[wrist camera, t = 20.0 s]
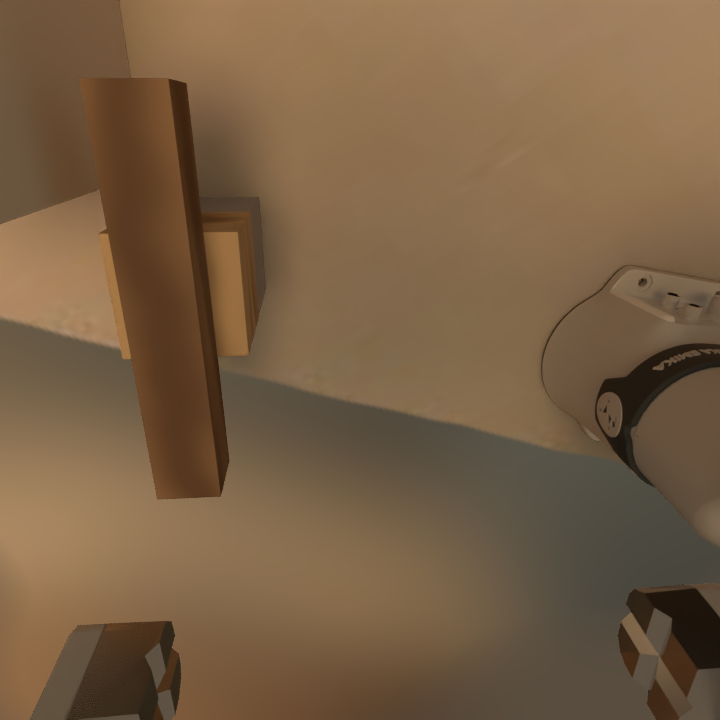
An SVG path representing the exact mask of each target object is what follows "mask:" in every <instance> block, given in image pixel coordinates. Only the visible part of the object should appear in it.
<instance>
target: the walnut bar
mask: <svg viewBox="0 0 720 720" xmlns="http://www.w3.org/2000/svg"><path fill="white" fill-rule="evenodd" d="M79 81H80V86H81V92H82V97H83V103H84V108H85V113H86V119H87V124H88V129H89V135H90V140H91V146H92V151H93V156H94V162H95V167H96V172H97V178H98V183H99V189H100V194H101V199H102V205H103V210H104V215H105V221H106V226H107V232H108V237H109V242H110V248H111V253H112V258H113V264H114V269H115V275H116V280H117V285H118V291H119V296H120V301H121V307H122V312H123V318H124V323H125V328H126V334H127V339H128V344H129V350H130V355H131V360H132V366H133V371H134V376H135V382H136V387H137V393H138V398H139V403H140V408H141V414H142V420H143V425H144V430H145V436H146V441H147V447H148V451H149V457H150V463H151V467H152V473H153V479H154V484H155V489H156V495H157V499H178V498H198V497H220V496H221V493H222V489H223V485H224V481H225V477H226V472H227V468H228V464H229V453H228V445H227V436H226V427H225V418H224V409H223V401H222V392H221V383H220V374H219V365H218V357H217V348H216V339H215V330H214V322H213V313H212V304H211V295H210V286H209V278H208V269H207V260H206V251H205V242H204V234H203V225H202V216H201V207H200V198H199V190H198V181H197V172H196V163H195V155H194V146H193V137H192V128H191V119H190V111H189V102H188V93H187V84H186V83H184V82H180V81H176V80H172V79H165V78H79Z"/></svg>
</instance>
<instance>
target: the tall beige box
mask: <svg viewBox="0 0 720 720" xmlns="http://www.w3.org/2000/svg"><path fill="white" fill-rule="evenodd" d="M79 78H131V77H130V71H129V64H128V58H127V51H126V45H125V39H124V32H123V26H122V19H121V13H120V6H119V0H0V224H2V223H5V222H8V221H11V220H13V219H16V218H19V217H22V216H25V215H28V214H31V213H33V212H36V211H39V210H42V209H45V208H48V207H51V206H53V205H56V204H59V203H62V202H65V201H68V200H71V199H73V198H76V197H79V196H82V195H85V194H88V193H91V192H93V191H96V190H99V183H98V178H97V172H96V167H95V162H94V156H93V151H92V146H91V140H90V135H89V129H88V124H87V119H86V113H85V108H84V103H83V97H82V92H81V86H80V81H79Z"/></svg>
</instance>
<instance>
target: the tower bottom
mask: <svg viewBox="0 0 720 720" xmlns="http://www.w3.org/2000/svg"><path fill="white" fill-rule="evenodd" d="M200 207H201V212H251V224H252V236H253V249H254V262H255V275H256V288H257V301H258V314H259V312H260V308H261V304H262V301H263V297H264V293H265V289H266V287H265V273H264V259H263V246H262V232H261V218H260V204H259V197H255V198H200Z"/></svg>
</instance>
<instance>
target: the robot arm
mask: <svg viewBox="0 0 720 720" xmlns="http://www.w3.org/2000/svg"><path fill="white" fill-rule="evenodd" d="M642 278H643V281H642V283H641V284H639V285H638V282H639V280H640V279H642ZM542 375H543V381H544V385H545V388H546V391H547V393H548V395H549V396H550V398H551V399H552V401H553V402H554V403H555V404H556V405H557V406H558V407H559V408H561V409H562V410H563V411H565V412H567V413H568V414H570V415H571V416H572V417H574V418H575V419H577V420H578V422H579V424H580V426H581V428H582V429H583V431H584V432H585V433H586V434H587V435H588V436H589V437H590V438H591V439H593V440H595V441H602V442H603V443H604V444H605V445H606V446H608V447H609V448H610V449H611V450H612V451H613V452H615V453H616V454H617V455H618V456H619V457H620V458H621V459H622V461H623V462H624V463H625V464H626V465H627V466H628V468H629V470H630V471H631V472H633V473H634V474H635V475H637V476H638V477H639V478H640V479H641V480H643V481H644V482H646V483H647V484H649V485H651V486H653V487H655V488H656V489H657V490H658V491H659V492H660V493H661V494H662V495H663V496H664V498H665V499H666V500H667V501H668V502H669V503H670V504H671V505H672V506H673V507H674V508H675V509H676V511H677V512H678V513H679V514H680V515H681V516H682V517H683V518H684V519H685V520H686V521H687V522H688V524H689V525H690V526H691V527H692V528H693V529H694V530H695V531H696V532H697V533H698V534H699V535H700V536H701V537H702V538H703V539H705V540H706V541H708V542H709V543H711V544H713V545H715V546H717V547H719V548H720V282H719V281H714V280H708V279H703V278H698V277H692V276H687V275H682V274H676V273H671V272H666V271H660V270H655V269H649V268H644V267H639V266H633V265H629V266H625V267H623V268H622V269H620V270H619V271H618V272H617V273H616V274H615V275H614V276H613V277H612V278H611V280H610V281H609V282H608V283H607V284H606V286H605V287H604V288H603V289H602V290H601V291H600V292H599V293H597V294H596V295H594V296H593V297H591V298H589V299H588V300H586V301H585V302H583V303H582V304H580V305H579V306H577V307H576V308H575V309H573V310H572V311H571V312H570V313H569V314H568V315H567V316H566V317H565V318H564V319H563V320H562V321H561V323H560V324H559V325H558V326H557V328H556V329H555V331H554V332H553V334H552V336H551V338H550V340H549V342H548V344H547V347H546V350H545V353H544V357H543V364H542ZM626 605H627V606H628V608H629V609H630V611H631V613H630V614H629V615H628V616H627V617H626V618H625V619H623V620H622V621H621V624H620V628H619V633H618V640H619V647H620V653H621V655H622V658H623V661H624V664H625V666H626V667H627V669H628V671H629V673H630V675H631V676H632V678H633V679H634V680H635V681H637V682H638V683H639V684H641V685H642V686H643V687H645V688H646V689H647V690H648V696H647V705H648V707H649V708H650V710H651V712H652V713H653V715H654V717H655V719H656V720H720V585H719V584H717V583H709V584H694V585H674V586H661V587H650V588H638V589H634V590H632V591H631V592H630V593H629V596H628V599H627V602H626ZM174 637H175V633H174V629H173V625H172V622H171V621H160V622H159V621H158V622H133V623H109V624H93V625H78V626H77V627H76V628H75V629H74V630H73V632H72V633H71V634H70V635H69V637H68V639H67V641H66V643H65V646H64V648H63V650H62V652H61V654H60V656H59V658H58V660H57V663H56V665H55V667H54V669H53V671H52V673H51V675H50V677H49V680H48V682H47V684H46V686H45V688H44V690H43V692H42V694H41V696H40V699H39V701H38V703H37V705H36V707H35V710H34V711H33V714H32V716H31V718H30V720H171V719H172V718H173V717H174V716H175V714H176V710H177V705H178V700H179V693H180V684H181V663H180V658H179V653H177V652H176V651H175V650H174V649H172V645H173V641H174Z"/></svg>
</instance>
